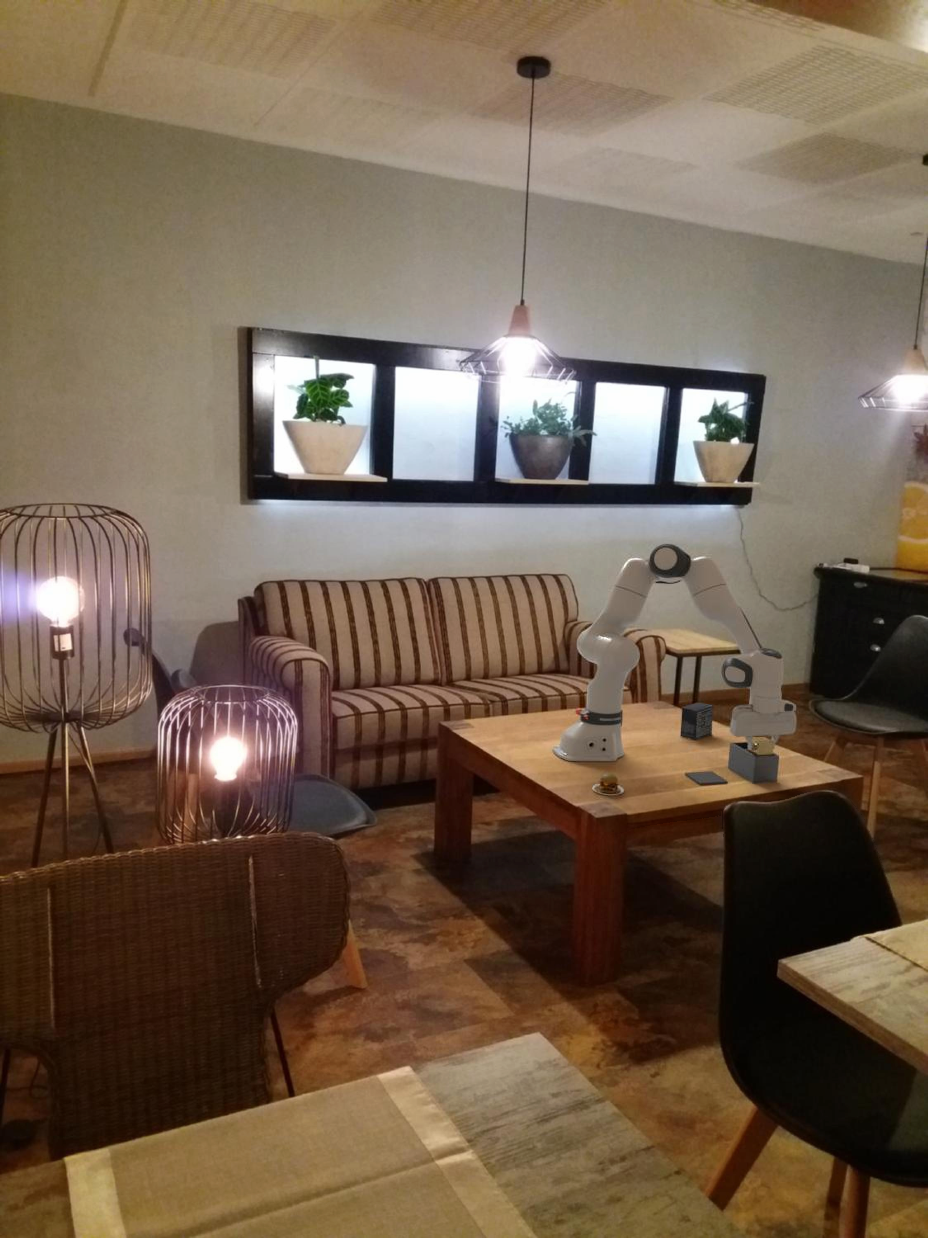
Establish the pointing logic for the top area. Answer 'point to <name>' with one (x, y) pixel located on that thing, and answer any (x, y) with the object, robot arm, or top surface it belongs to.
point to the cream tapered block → (762, 747)
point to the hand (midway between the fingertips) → (760, 749)
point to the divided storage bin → (752, 764)
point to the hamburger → (608, 784)
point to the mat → (706, 778)
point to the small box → (696, 721)
